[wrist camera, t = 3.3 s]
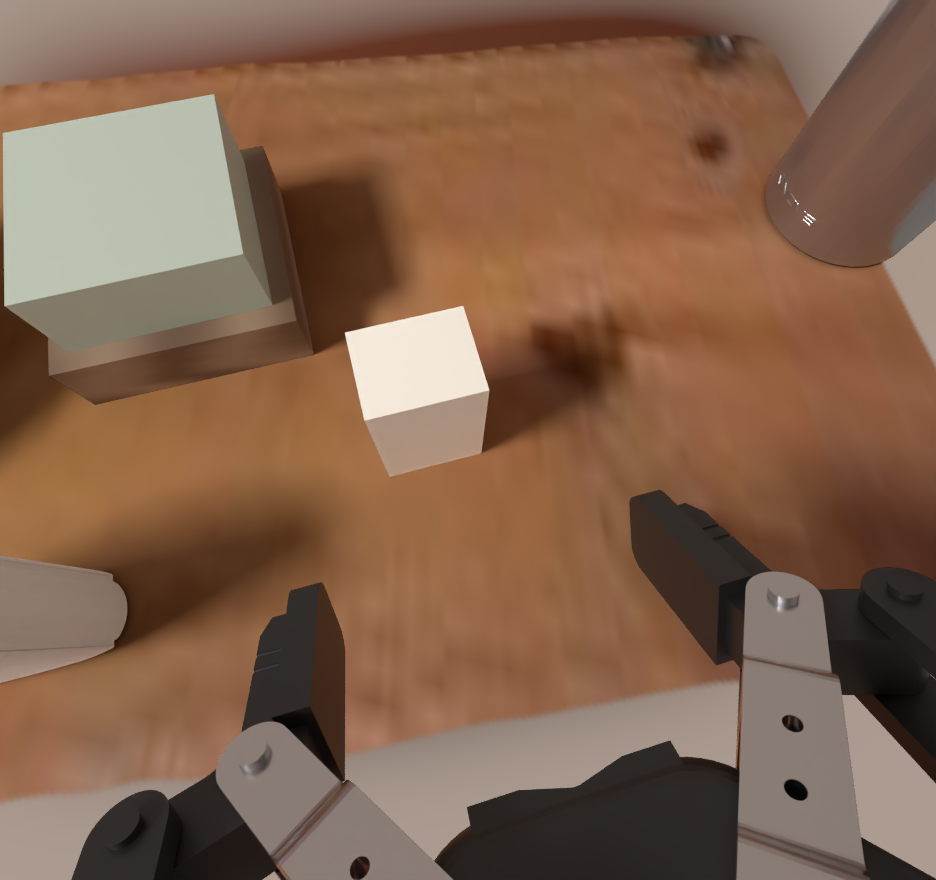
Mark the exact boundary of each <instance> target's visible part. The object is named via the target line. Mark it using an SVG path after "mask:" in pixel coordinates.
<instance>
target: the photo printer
mask: <svg viewBox="0 0 936 880" xmlns="http://www.w3.org/2000/svg"><path fill="white" fill-rule="evenodd" d="M126 618H127V600H126V596H125V594H124V592H123V590H122V588H121V587H120V586H119V585H118V584H117V583H115V582H114V581H113V575H112V574H110V573H107V572H103V571H99V570H93V569H85V568H79V567H72V566H66V565H59V564H52V563H46V562H40V561H33V560H27V559H20V558H14V557H8V556H1V555H0V683H2V682H6V681H10V680H14V679H18V678H22V677H26V676H29V675H33V674H37V673H41V672H44V671H48V670H52V669H55V668H59V667H63V666H66V665H69V664H73V663H76V662H80V661H83V660H86V659H89V658H92V657H94V656H97V655H99V654H101V653H104V652H106V651H108V650H110V649H112V648H113V647H114V640H116V639H117V638H118V637H119V636H120V634H121V632H122V630H123V628H124V625H125V622H126Z"/></svg>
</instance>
